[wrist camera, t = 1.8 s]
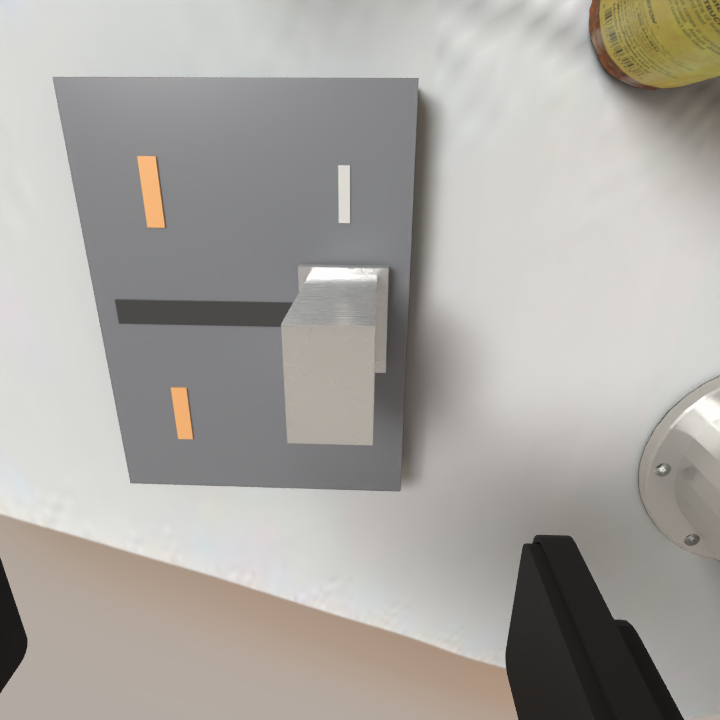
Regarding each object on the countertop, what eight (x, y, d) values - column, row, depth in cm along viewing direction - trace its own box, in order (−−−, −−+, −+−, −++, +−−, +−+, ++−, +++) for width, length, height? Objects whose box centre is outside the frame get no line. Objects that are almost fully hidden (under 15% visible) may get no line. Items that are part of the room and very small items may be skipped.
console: (415, 84, 23) (418, 77, 21) (399, 465, 31) (400, 492, 28) (84, 83, 24) (51, 76, 21) (149, 458, 31) (129, 484, 29)
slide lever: (388, 265, 23) (391, 317, 16) (385, 367, 25) (387, 453, 18) (299, 264, 24) (264, 314, 17) (303, 365, 25) (273, 450, 18)
